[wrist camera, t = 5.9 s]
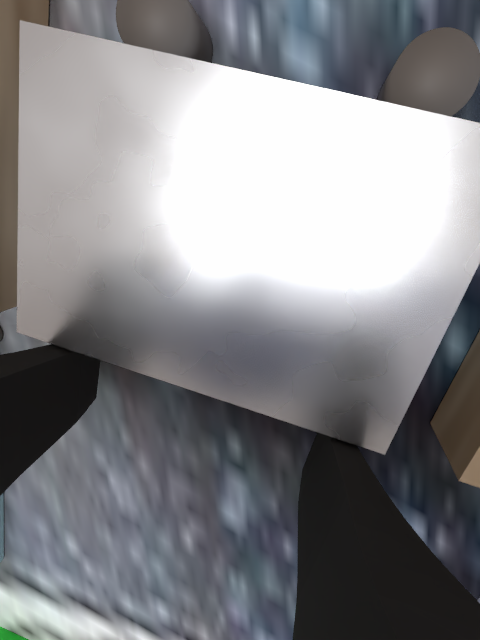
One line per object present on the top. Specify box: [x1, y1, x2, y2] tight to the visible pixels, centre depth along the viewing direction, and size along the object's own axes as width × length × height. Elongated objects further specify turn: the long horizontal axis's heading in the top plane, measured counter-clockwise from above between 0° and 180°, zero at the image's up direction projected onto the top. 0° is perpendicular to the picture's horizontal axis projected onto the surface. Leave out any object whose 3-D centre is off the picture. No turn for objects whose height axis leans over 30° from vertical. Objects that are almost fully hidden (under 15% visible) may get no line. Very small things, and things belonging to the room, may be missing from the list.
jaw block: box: [17, 20, 480, 455], centre depth 9 cm, size 10×7×4 cm
